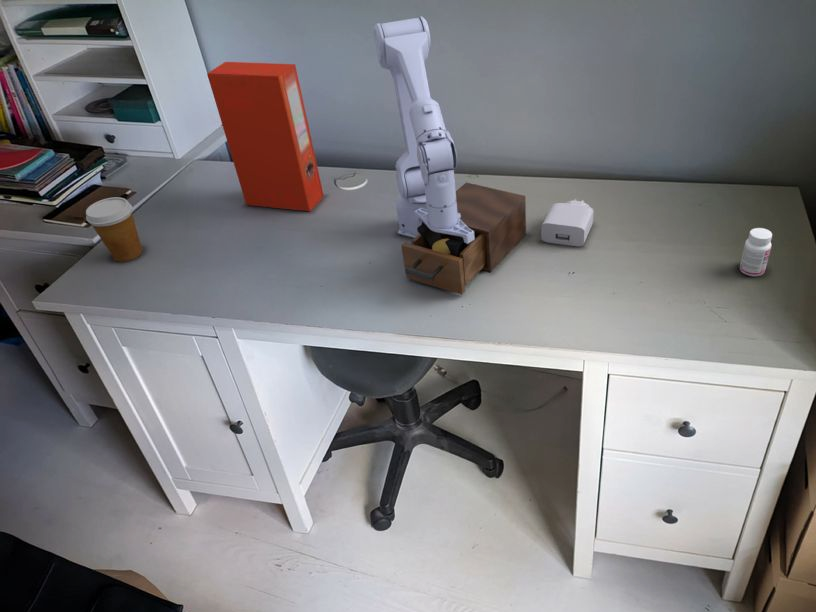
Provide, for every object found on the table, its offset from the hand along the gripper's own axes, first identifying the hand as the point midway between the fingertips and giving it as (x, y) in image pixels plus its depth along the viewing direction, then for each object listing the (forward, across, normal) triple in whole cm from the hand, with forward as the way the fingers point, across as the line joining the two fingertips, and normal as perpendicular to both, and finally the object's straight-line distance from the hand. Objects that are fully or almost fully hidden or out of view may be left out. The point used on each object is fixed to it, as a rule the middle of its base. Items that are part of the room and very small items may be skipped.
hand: (447, 260), depth 142 cm
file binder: (+4, +54, +2) cm, 54 cm away
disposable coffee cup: (+4, +63, +39) cm, 75 cm away
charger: (+4, -8, -30) cm, 31 cm away
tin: (+2, 0, 0) cm, 2 cm away
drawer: (+3, 0, +1) cm, 3 cm away
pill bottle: (+4, -46, -38) cm, 60 cm away
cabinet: (+3, +3, -12) cm, 13 cm away
